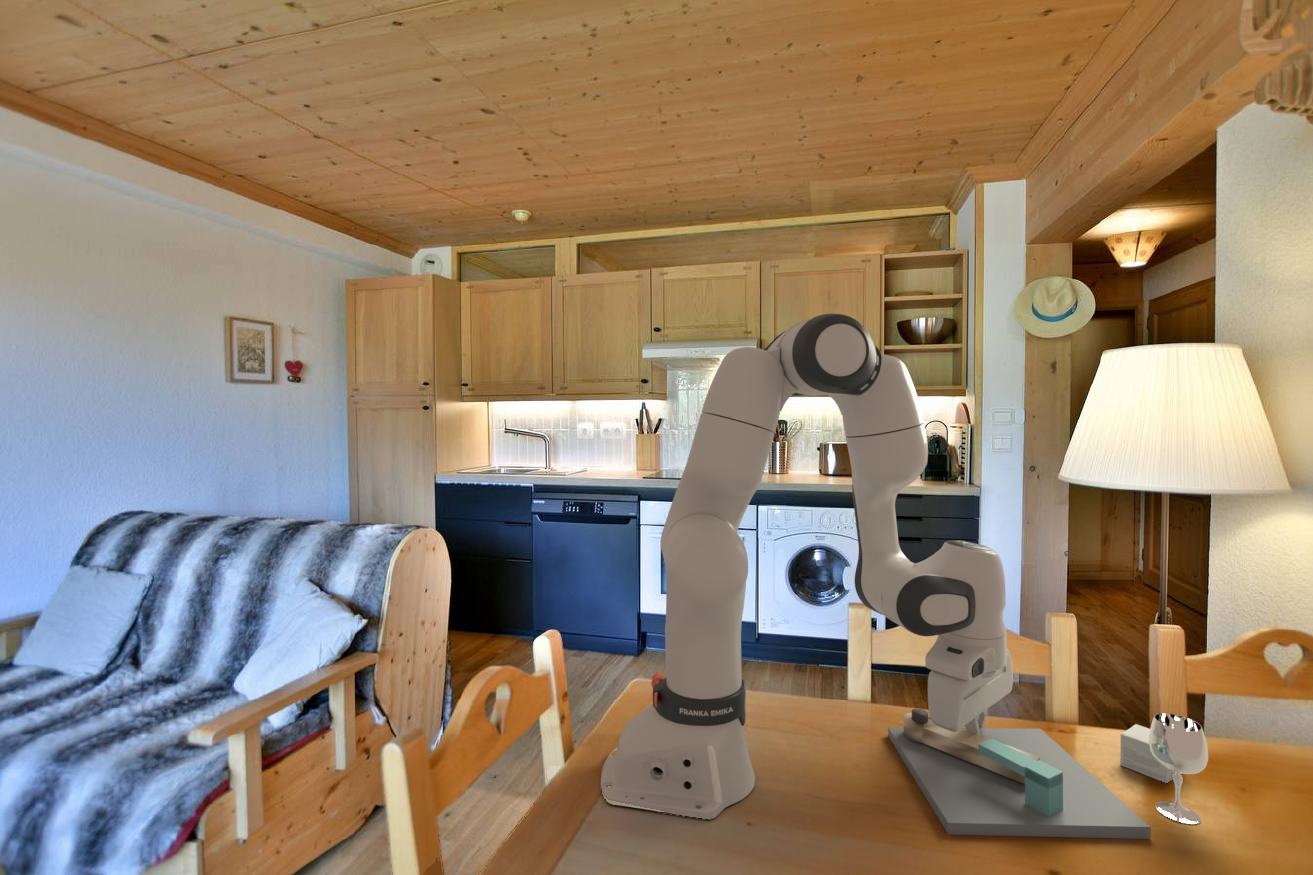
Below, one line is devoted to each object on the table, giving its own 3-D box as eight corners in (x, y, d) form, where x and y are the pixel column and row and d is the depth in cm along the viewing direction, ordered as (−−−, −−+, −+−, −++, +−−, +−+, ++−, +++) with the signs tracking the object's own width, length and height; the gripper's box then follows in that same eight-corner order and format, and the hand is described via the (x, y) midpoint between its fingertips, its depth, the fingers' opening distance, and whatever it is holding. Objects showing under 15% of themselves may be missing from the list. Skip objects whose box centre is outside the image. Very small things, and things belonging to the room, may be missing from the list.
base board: (948, 834, 74) (948, 822, 73) (888, 736, 96) (888, 727, 96) (1150, 838, 72) (1150, 826, 72) (1040, 737, 95) (1040, 728, 95)
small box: (1183, 771, 85) (1183, 738, 85) (1168, 785, 82) (1168, 751, 82) (1134, 753, 90) (1134, 722, 90) (1119, 766, 87) (1119, 733, 87)
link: (898, 734, 93) (897, 711, 93) (912, 723, 97) (912, 702, 96) (1029, 787, 79) (1028, 760, 79) (1041, 772, 83) (1040, 747, 82)
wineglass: (1220, 830, 73) (1220, 735, 73) (1166, 825, 74) (1166, 731, 74) (1188, 801, 79) (1188, 712, 78) (1139, 796, 80) (1138, 709, 80)
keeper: (978, 776, 83) (978, 742, 83) (992, 770, 84) (992, 736, 84) (1049, 816, 74) (1048, 778, 74) (1063, 809, 75) (1062, 771, 75)
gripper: (981, 625, 98) (983, 707, 99) (918, 659, 86) (920, 753, 86) (1023, 636, 93) (1025, 722, 94) (963, 673, 81) (965, 772, 81)
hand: (974, 737), depth 90 cm, fingers closed
